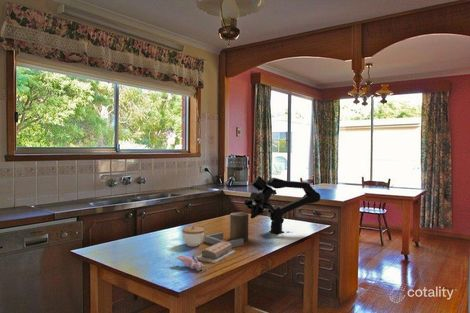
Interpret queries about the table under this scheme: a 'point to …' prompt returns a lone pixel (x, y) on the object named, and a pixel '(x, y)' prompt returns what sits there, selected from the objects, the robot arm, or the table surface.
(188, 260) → the rabbit figure
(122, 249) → the table surface
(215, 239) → the bay
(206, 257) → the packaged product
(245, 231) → the pillar candle
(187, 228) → the lidded jar
